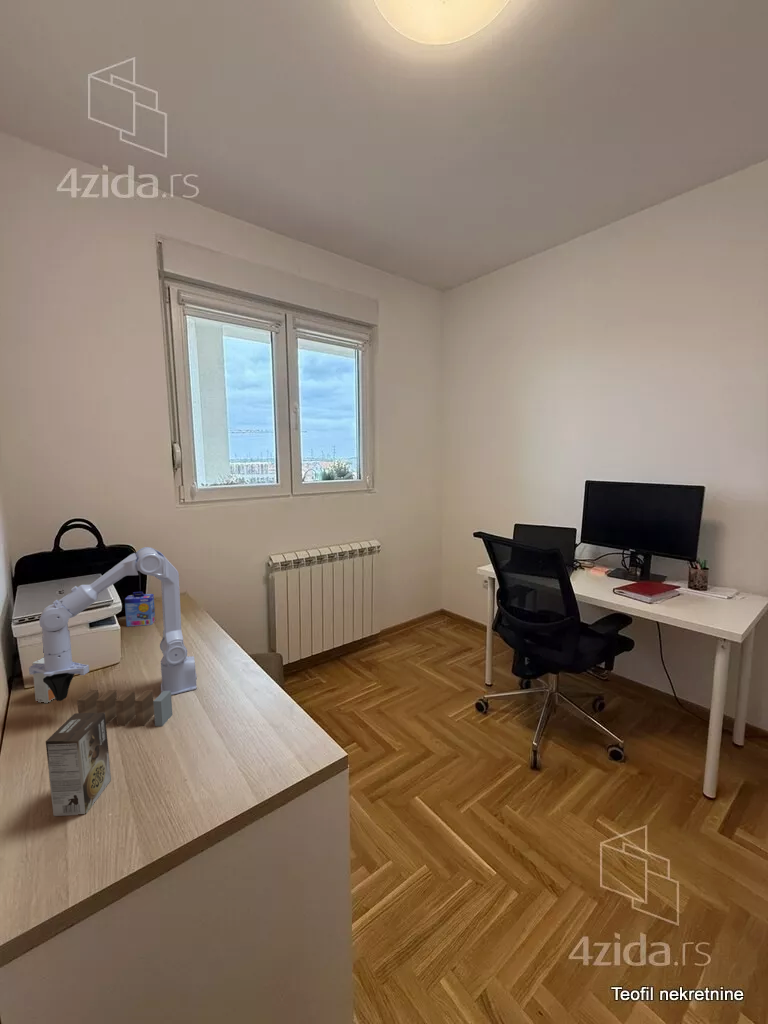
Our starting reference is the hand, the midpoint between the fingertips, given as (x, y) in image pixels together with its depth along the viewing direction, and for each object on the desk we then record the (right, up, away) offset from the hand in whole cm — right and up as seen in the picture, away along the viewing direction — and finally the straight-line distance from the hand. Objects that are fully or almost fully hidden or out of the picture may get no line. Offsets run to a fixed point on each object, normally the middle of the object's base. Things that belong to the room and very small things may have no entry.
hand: (61, 698), depth 111 cm
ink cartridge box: (-17, +2, +66) cm, 68 cm away
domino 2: (+12, -6, +1) cm, 13 cm away
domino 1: (+7, -6, +1) cm, 9 cm away
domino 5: (+27, -6, 0) cm, 28 cm away
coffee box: (+24, -9, -25) cm, 36 cm away
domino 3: (+17, -6, +1) cm, 18 cm away
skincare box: (-11, -5, +11) cm, 16 cm away
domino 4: (+22, -6, +1) cm, 23 cm away
